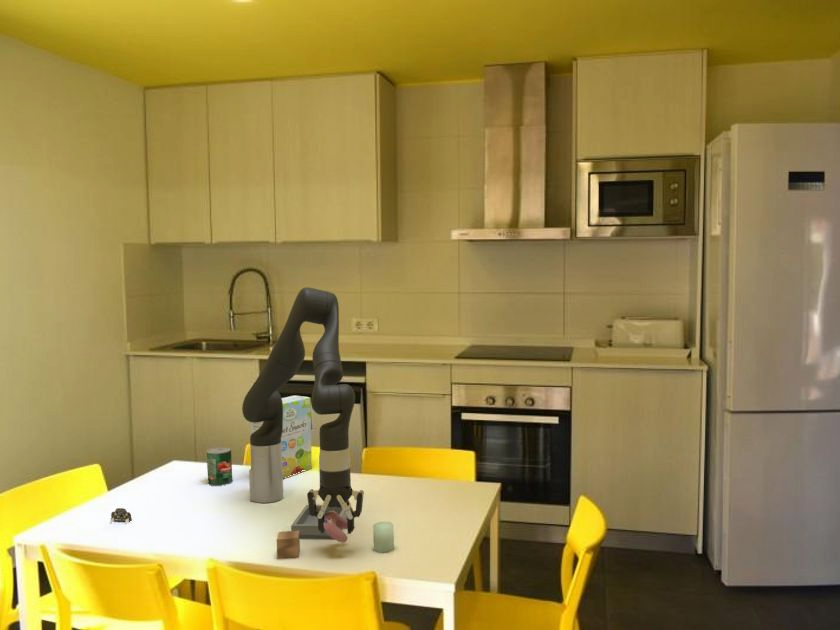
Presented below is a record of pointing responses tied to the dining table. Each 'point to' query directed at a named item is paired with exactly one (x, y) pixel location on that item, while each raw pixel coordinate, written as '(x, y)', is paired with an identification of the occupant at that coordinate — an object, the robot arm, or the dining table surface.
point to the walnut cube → (288, 544)
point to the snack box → (294, 434)
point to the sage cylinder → (383, 537)
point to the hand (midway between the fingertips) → (336, 532)
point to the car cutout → (121, 516)
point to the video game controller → (335, 526)
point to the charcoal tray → (313, 523)
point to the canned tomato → (219, 466)
